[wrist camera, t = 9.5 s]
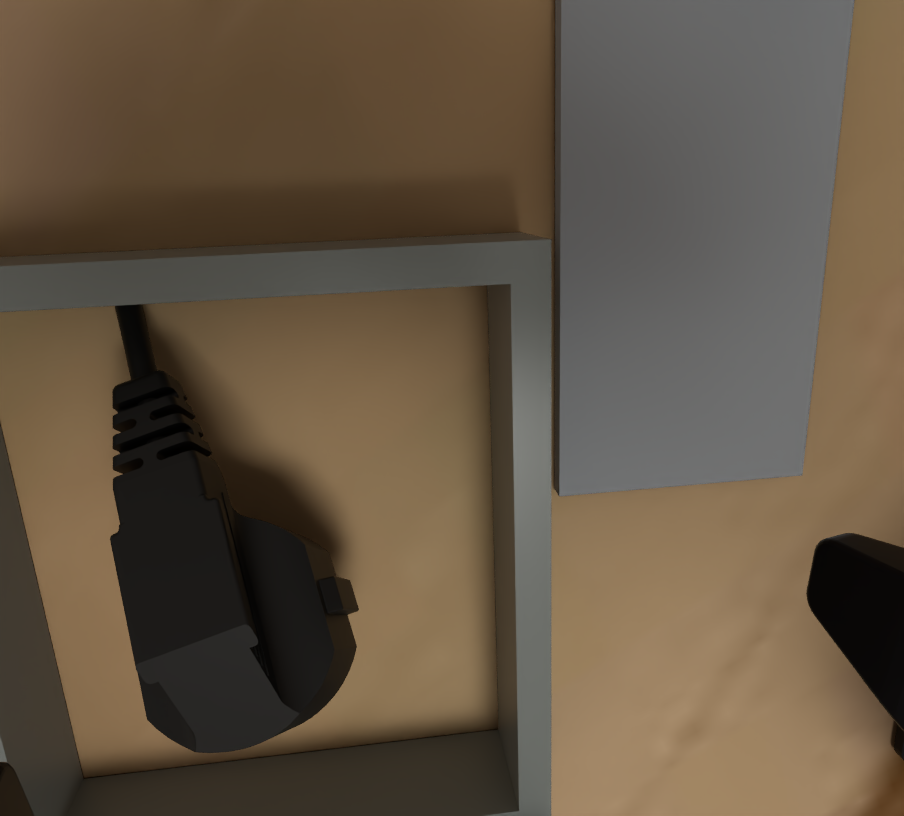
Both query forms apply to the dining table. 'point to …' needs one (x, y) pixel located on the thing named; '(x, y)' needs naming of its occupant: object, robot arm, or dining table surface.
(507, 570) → the case
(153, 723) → the power plug
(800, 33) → the mat
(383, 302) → the dining table surface
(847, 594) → the robot arm
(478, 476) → the dining table surface
